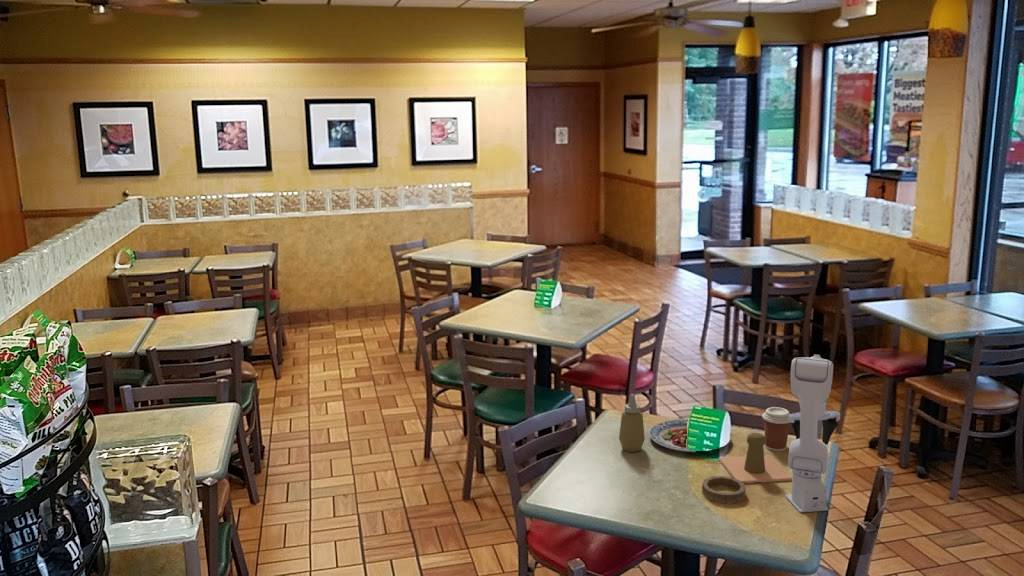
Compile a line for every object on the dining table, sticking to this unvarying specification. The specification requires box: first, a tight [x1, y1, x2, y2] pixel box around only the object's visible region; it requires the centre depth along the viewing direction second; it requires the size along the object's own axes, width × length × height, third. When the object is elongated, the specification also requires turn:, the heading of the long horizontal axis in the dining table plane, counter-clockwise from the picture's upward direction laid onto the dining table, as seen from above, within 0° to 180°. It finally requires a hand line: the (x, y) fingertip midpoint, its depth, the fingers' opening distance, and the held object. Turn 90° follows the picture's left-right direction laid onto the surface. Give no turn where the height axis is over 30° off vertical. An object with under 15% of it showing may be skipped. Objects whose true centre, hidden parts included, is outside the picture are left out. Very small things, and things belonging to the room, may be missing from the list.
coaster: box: [718, 454, 793, 485], centre depth 243 cm, size 16×16×1 cm
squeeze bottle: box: [618, 393, 645, 453], centre depth 257 cm, size 8×8×18 cm
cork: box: [744, 432, 765, 474], centre depth 240 cm, size 6×6×11 cm
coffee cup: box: [761, 406, 791, 452], centre depth 257 cm, size 9×9×12 cm
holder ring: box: [701, 475, 747, 504], centre depth 229 cm, size 11×11×2 cm
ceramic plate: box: [648, 418, 732, 453], centre depth 265 cm, size 26×26×3 cm
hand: (812, 444), depth 235 cm, fingers open, 7 cm apart
